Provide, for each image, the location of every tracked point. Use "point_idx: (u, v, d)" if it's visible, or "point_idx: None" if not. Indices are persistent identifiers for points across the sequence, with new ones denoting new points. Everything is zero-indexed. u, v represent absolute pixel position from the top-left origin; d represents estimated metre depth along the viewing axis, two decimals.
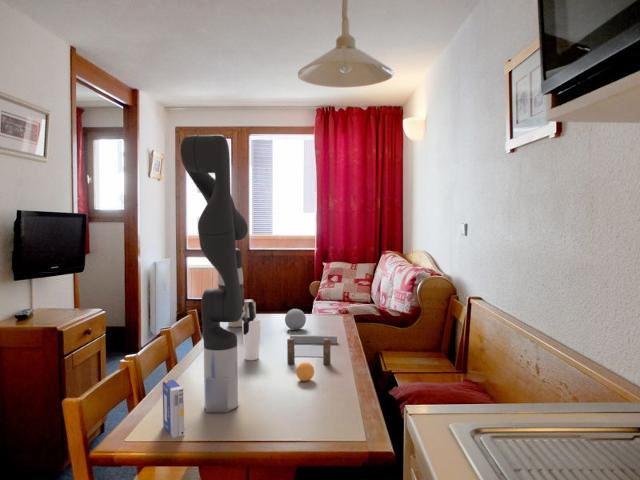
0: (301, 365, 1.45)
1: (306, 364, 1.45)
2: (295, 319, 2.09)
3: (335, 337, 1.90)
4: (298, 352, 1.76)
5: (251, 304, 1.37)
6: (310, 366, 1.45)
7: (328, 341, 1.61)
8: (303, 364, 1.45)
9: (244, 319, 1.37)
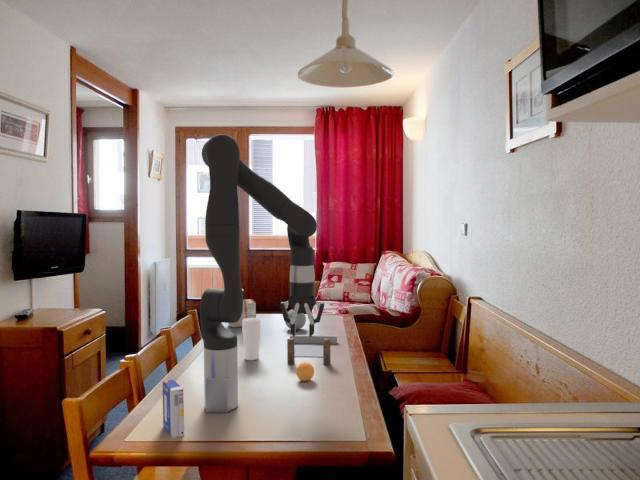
0: (301, 365, 1.45)
1: (306, 364, 1.45)
2: (295, 319, 2.09)
3: (335, 337, 1.90)
4: (298, 352, 1.76)
5: (323, 306, 1.34)
6: (310, 366, 1.45)
7: (328, 341, 1.61)
8: (303, 364, 1.45)
9: (311, 320, 1.35)
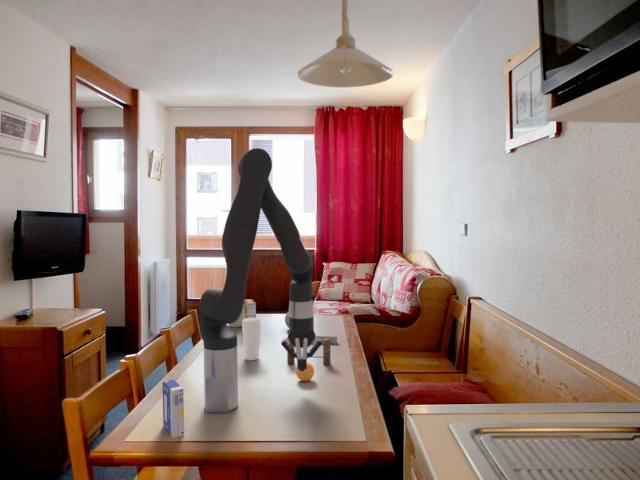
0: None
1: None
2: None
3: (335, 337, 1.90)
4: None
5: (320, 344, 1.36)
6: (310, 366, 1.45)
7: (328, 341, 1.61)
8: None
9: (304, 355, 1.36)
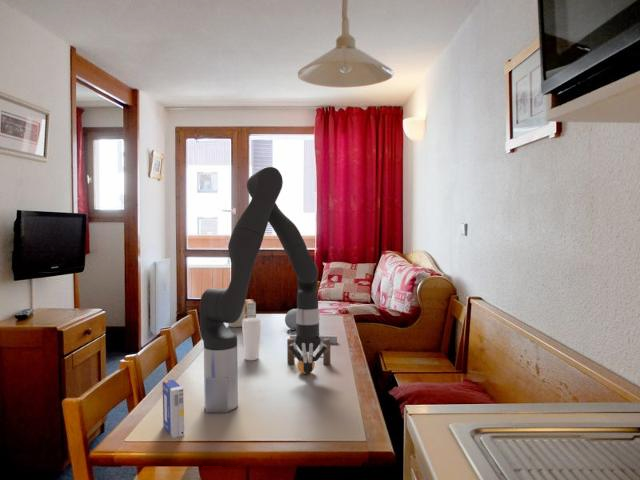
0: None
1: None
2: (295, 319, 2.09)
3: (335, 337, 1.90)
4: None
5: (324, 349, 1.46)
6: None
7: (328, 341, 1.61)
8: None
9: (310, 359, 1.47)
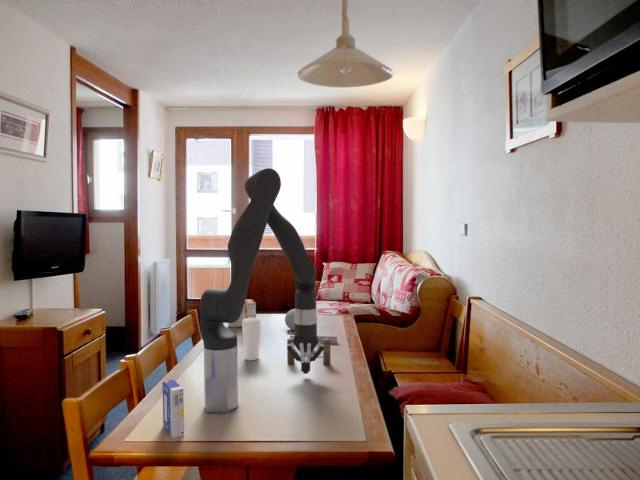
0: None
1: None
2: None
3: (335, 337, 1.90)
4: (298, 352, 1.76)
5: (322, 349, 1.47)
6: None
7: (328, 341, 1.61)
8: None
9: (308, 359, 1.48)
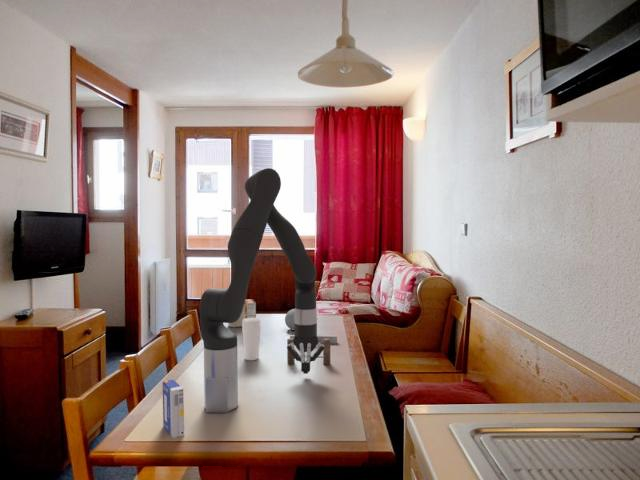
0: None
1: None
2: None
3: (335, 337, 1.90)
4: (298, 352, 1.76)
5: (322, 349, 1.47)
6: None
7: (328, 341, 1.61)
8: None
9: (308, 359, 1.48)
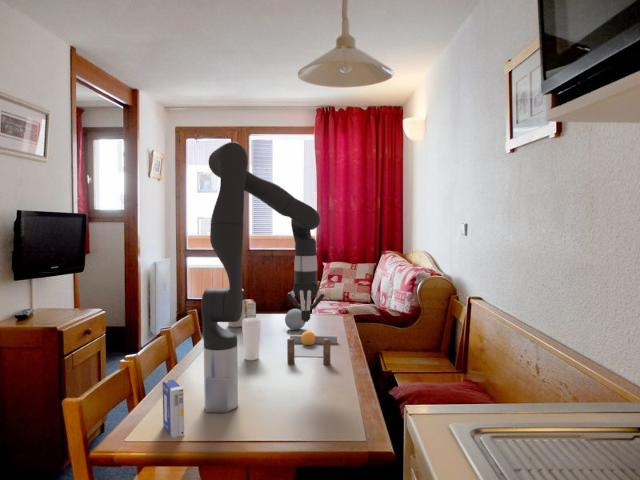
0: (306, 331, 1.88)
1: (309, 331, 1.88)
2: (295, 319, 2.09)
3: (335, 337, 1.90)
4: (298, 352, 1.76)
5: (322, 296, 1.46)
6: (312, 332, 1.88)
7: (328, 341, 1.61)
8: (307, 331, 1.88)
9: (308, 307, 1.47)
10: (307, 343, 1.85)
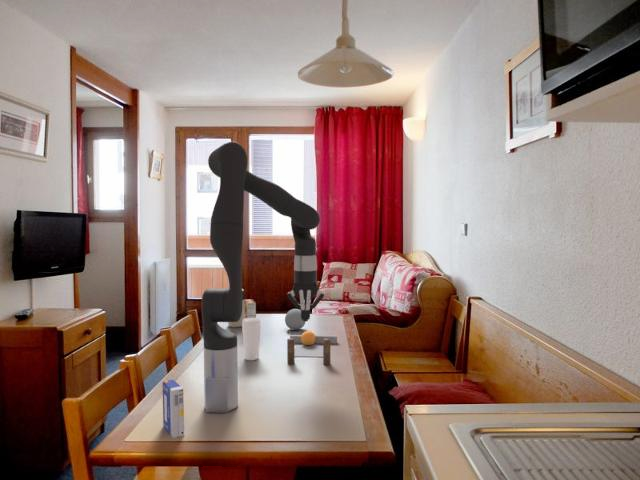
0: (306, 331, 1.88)
1: (309, 331, 1.88)
2: (295, 319, 2.09)
3: (335, 337, 1.90)
4: (298, 352, 1.76)
5: (322, 296, 1.47)
6: (312, 332, 1.88)
7: (328, 341, 1.61)
8: (307, 331, 1.88)
9: (307, 306, 1.47)
10: (307, 343, 1.85)
